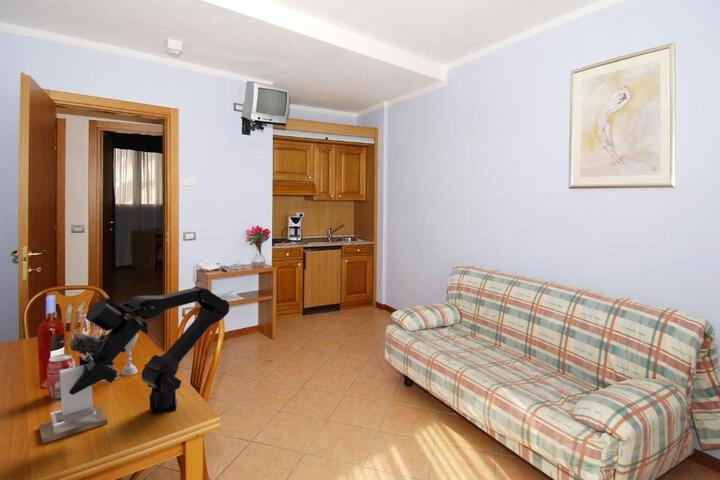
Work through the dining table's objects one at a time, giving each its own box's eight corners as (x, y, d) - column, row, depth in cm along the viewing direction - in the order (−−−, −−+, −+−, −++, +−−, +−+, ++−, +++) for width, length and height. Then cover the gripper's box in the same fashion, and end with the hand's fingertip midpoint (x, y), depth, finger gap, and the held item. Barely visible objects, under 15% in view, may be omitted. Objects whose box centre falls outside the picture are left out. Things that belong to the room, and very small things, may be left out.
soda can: (72, 387, 130) (70, 351, 129) (79, 393, 126) (77, 357, 125) (45, 394, 125) (43, 357, 124) (51, 402, 120) (49, 363, 119)
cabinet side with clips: (100, 410, 116) (100, 398, 116) (107, 423, 110) (106, 411, 109) (39, 428, 107) (38, 415, 106) (42, 443, 100) (41, 430, 100)
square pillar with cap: (90, 406, 105) (87, 362, 104) (93, 414, 102) (91, 368, 100) (56, 416, 100) (53, 370, 99) (58, 424, 97) (55, 377, 95)
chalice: (135, 366, 147) (133, 318, 145) (144, 371, 143) (143, 322, 141) (114, 373, 141) (112, 323, 139) (123, 378, 137) (121, 327, 135)
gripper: (84, 313, 108) (35, 364, 102) (99, 330, 95) (43, 390, 88) (119, 335, 115) (74, 384, 108) (137, 354, 101) (87, 411, 95)
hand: (69, 391), depth 100 cm, fingers closed on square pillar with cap, 3 cm apart
